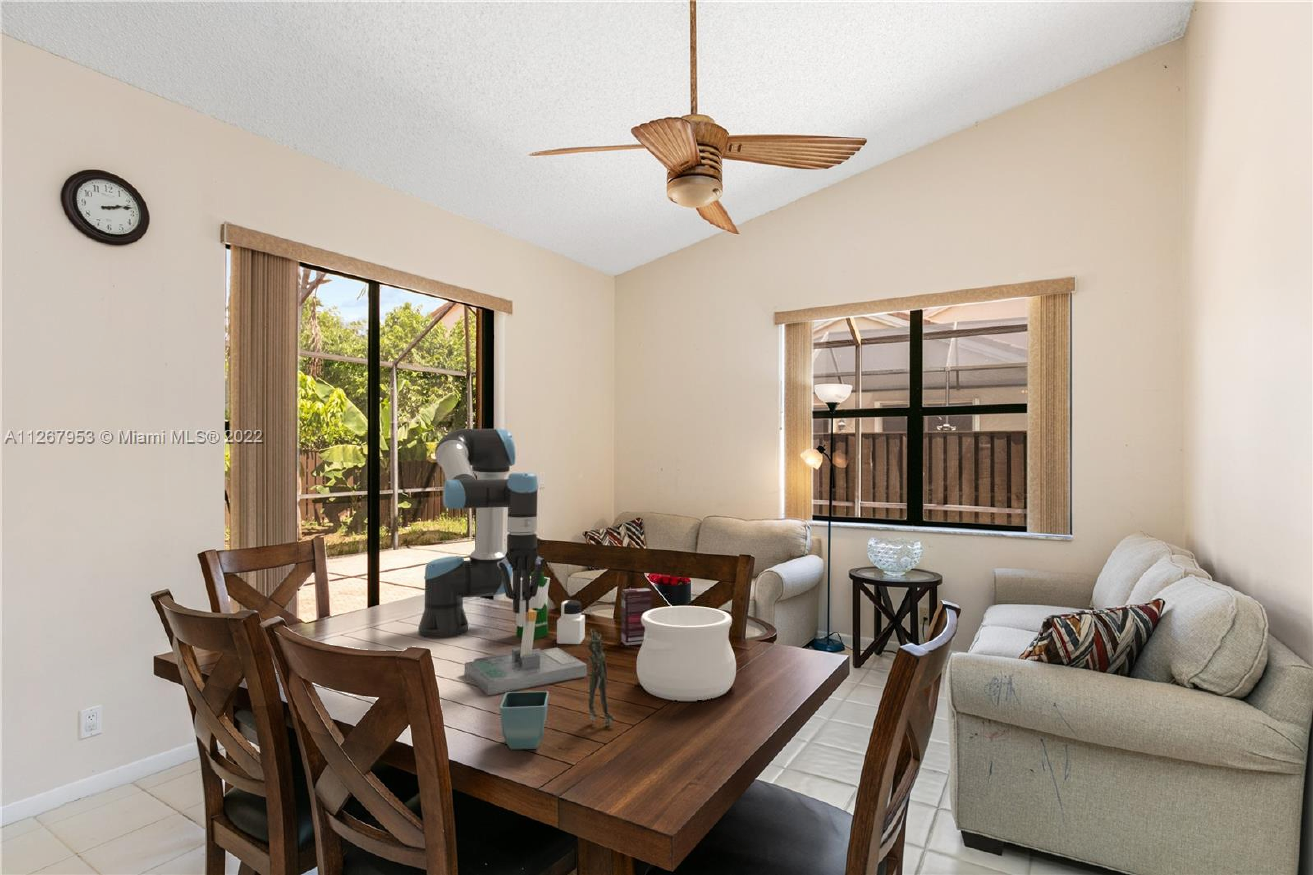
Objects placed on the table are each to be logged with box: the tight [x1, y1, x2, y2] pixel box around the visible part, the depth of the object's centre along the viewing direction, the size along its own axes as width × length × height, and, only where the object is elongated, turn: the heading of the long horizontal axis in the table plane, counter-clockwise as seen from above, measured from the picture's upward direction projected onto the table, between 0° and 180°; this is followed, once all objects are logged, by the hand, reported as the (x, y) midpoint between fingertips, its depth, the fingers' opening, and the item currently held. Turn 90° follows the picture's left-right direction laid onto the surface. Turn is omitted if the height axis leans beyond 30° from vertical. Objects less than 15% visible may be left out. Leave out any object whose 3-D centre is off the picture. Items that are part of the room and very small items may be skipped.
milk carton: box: [515, 571, 551, 641], centre depth 215 cm, size 9×9×20 cm
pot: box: [635, 605, 737, 702], centre depth 170 cm, size 26×24×18 cm
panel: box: [464, 647, 588, 696], centre depth 178 cm, size 18×26×6 cm
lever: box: [520, 609, 537, 659], centre depth 178 cm, size 4×2×13 cm, turn 33°
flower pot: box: [499, 690, 550, 750], centre depth 136 cm, size 9×9×9 cm
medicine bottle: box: [556, 599, 586, 645], centre depth 210 cm, size 7×7×12 cm
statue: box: [588, 628, 616, 727], centre depth 146 cm, size 5×6×20 cm
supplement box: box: [620, 587, 653, 646], centre depth 209 cm, size 9×5×16 cm, turn 110°
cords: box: [473, 648, 542, 661], centre depth 187 cm, size 5×21×3 cm, turn 123°
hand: (520, 625), depth 177 cm, fingers closed
